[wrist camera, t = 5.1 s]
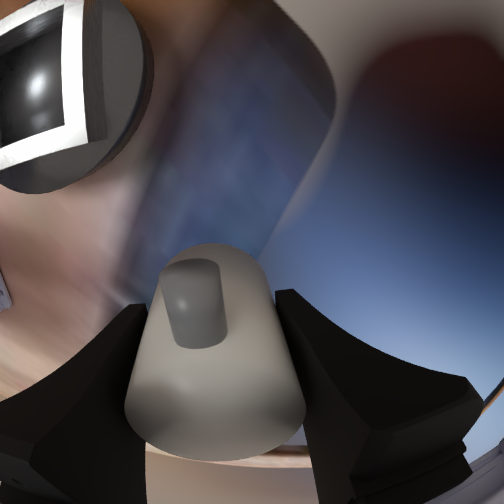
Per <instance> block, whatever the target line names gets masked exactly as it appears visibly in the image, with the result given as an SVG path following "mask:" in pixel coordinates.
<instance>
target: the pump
mask: <svg viewBox="0 0 504 504" xmlns="http://www.w3.org/2000/svg"><path fill="white" fill-rule="evenodd" d="M124 410H125V415H126V418H127V420H128V422H129V424H130V426H131V427H132V429H133V430H134V431H135V432H136V433H137V434H138V435H139V436H140V437H141V438H142V439H144V440H145V441H146V442H148V443H149V444H151V445H153V446H154V447H156V448H158V449H160V450H162V451H165V452H167V453H170V454H173V455H176V456H179V457H183V458H188V459H193V460H201V461H232V460H239V459H245V458H249V457H253V456H257V455H260V454H263V453H265V452H268V451H270V450H272V449H274V448H276V447H278V446H280V445H281V444H283V443H284V442H286V441H287V440H288V439H289V438H291V437H292V436H293V435H294V434H295V433H296V432H297V431H298V429H299V428H300V427H301V425H302V423H303V421H304V419H305V414H306V404H305V400H304V397H303V394H302V390H301V387H300V384H299V381H298V377H297V374H296V371H295V368H294V364H293V361H292V358H291V355H290V351H289V348H288V345H287V342H286V338H285V335H284V332H283V329H282V326H281V322H280V319H279V316H278V313H277V309H276V306H275V303H274V300H273V297H272V294H271V290H270V287H269V284H268V281H267V277H266V275H265V273H264V271H263V269H262V268H261V266H260V265H259V264H258V262H257V261H256V260H255V259H254V258H252V257H251V256H250V255H249V254H247V253H246V252H244V251H242V250H240V249H238V248H236V247H233V246H230V245H225V244H218V243H207V244H200V245H196V246H193V247H190V248H188V249H185V250H183V251H182V252H180V253H178V254H177V255H176V256H175V257H173V258H172V259H171V260H170V261H169V262H168V264H167V265H166V266H165V268H164V269H163V270H162V271H161V272H160V274H159V282H158V285H157V288H156V291H155V294H154V298H153V301H152V304H151V307H150V311H149V314H148V317H147V320H146V324H145V327H144V331H143V334H142V338H141V341H140V345H139V348H138V352H137V356H136V359H135V363H134V367H133V371H132V374H131V378H130V382H129V386H128V390H127V395H126V399H125V404H124Z"/></svg>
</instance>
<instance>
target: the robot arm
mask: <svg viewBox="0 0 504 504" xmlns="http://www.w3.org/2000/svg"><path fill="white" fill-rule="evenodd" d="M2 291H3V292H2ZM275 300H276V303H275V304H276V309H277V313H278V316H279V319H280V322H281V326H282V329H283V332H284V335H285V338H286V342H287V345H288V348H289V351H290V355H291V358H292V361H293V364H294V368H295V371H296V374H297V377H298V381H299V384H300V387H301V390H302V394H303V397H304V400H305V404H306V414H305V419H304V421H303V427H304V431H305V436H306V440H307V444H308V449H309V454H310V458H311V463H312V468H313V473H314V478H315V483H316V488H317V494H318V499H319V504H504V438H503V439H502V440H501V441H500V443H499V445H498V446H496V447H495V448H493V449H492V450H490V451H489V452H487V453H486V454H484V455H483V456H481V457H480V458H479V459H477V460H475V461H473V462H472V463H470V464H468V462H467V461H466V459H465V457H464V455H463V453H464V452H465V451H466V446H465V444H464V442H463V441H462V439H463V438H464V437H465V435H466V434H467V433H468V432H469V430H470V429H471V428H472V426H473V425H474V424H475V422H476V421H477V419H478V418H479V416H480V415H481V412H482V410H483V406H484V402H483V399H482V398H481V396H480V395H479V394H478V392H477V391H476V390H475V389H474V387H473V386H472V385H471V383H470V382H469V381H468V380H467V378H466V377H462V376H458V375H452V374H447V373H443V372H438V371H434V370H430V369H427V368H424V367H421V366H417V365H414V364H411V363H408V362H405V361H403V360H400V359H398V358H396V357H393V356H391V355H389V354H386V353H384V352H382V351H380V350H378V349H376V348H373V347H372V346H370V345H368V344H366V343H364V342H363V341H361V340H359V339H357V338H356V337H354V336H352V335H351V334H349V333H348V332H346V331H345V330H343V329H342V328H340V327H339V326H337V325H336V324H335V323H333V322H332V321H331V320H329V319H328V318H327V317H325V316H324V315H323V314H322V313H320V312H319V311H318V310H317V309H315V308H314V307H313V306H312V305H311V304H310V303H309V302H307V301H306V300H305V299H304V298H303V297H302V296H301V295H300V294H298V293H297V292H296V291H295V290H294V289H286V290H278V291H275ZM11 306H12V301H11V298H10V296H9V293H8V291H7V289H6V286H5V283H4V281H3V278H2V276H1V273H0V312H1V311H2V310H3V309H4V308H10V307H11ZM147 317H148V311H147V308H146V304H145V303H143V304H129V305H128V306H127V307H126V308H124V309H123V310H122V311H121V312H120V313H119V314H118V315H117V316H116V317H115V318H114V319H113V320H112V321H111V322H110V323H109V324H108V325H107V326H106V327H105V328H104V329H103V330H102V331H101V332H100V333H99V334H98V335H97V336H96V337H95V338H94V339H92V340H91V341H90V342H89V343H88V344H87V345H86V346H85V347H84V348H83V349H81V350H80V351H79V352H78V353H77V354H76V355H75V356H74V357H72V358H71V359H70V360H69V361H67V362H66V363H65V364H63V365H62V366H61V367H59V368H58V369H57V370H56V371H54V372H53V373H51V374H50V375H48V376H47V377H45V378H43V379H42V380H40V381H39V382H37V383H36V384H34V385H32V386H31V387H29V388H27V389H25V390H23V391H22V392H20V393H18V394H16V395H14V396H12V397H10V398H8V399H5V400H3V401H1V402H0V481H1V485H0V504H147V497H146V482H145V481H146V480H145V446H146V441H145V440H144V439H142V438H141V437H140V436H139V435H138V434H137V433H136V432H135V431H134V430H133V429H132V427H131V426H130V424H129V422H128V420H127V418H126V415H125V410H124V404H125V399H126V395H127V390H128V386H129V382H130V378H131V374H132V371H133V367H134V363H135V359H136V356H137V352H138V348H139V345H140V341H141V338H142V334H143V331H144V327H145V324H146V320H147Z"/></svg>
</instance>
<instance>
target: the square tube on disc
mask: <svg viewBox="0 0 504 504" xmlns="http://www.w3.org/2000/svg"><path fill="white" fill-rule="evenodd" d="M153 79H154V61H153V53H152V49H151V45H150V42H149V39H148V37H147V35H146V33H145V31H144V29H143V28H142V27H141V25H140V24H139V22H138V21H137V20H136V19H135V17H134V16H133V15H132V14H131V13H130V11H129V10H128V9H127V8H126V7H125V6H124V5H123V4H122V3H121V2H120V1H119V0H32V1H30V2H29V3H27V4H26V5H25V6H23V7H22V8H20V9H19V10H18V11H16V12H14V13H12V14H11V15H9V16H7V17H6V18H4V19H2V20H1V21H0V184H2V185H3V186H5V187H7V188H9V189H11V190H14V191H17V192H20V193H26V194H42V193H48V192H52V191H55V190H58V189H61V188H63V187H65V186H67V185H69V184H71V183H73V182H75V181H77V180H79V179H81V178H84V177H86V176H88V175H90V174H92V173H94V172H96V171H97V170H99V169H100V168H102V167H104V166H105V165H106V164H107V163H109V162H110V161H111V160H112V159H113V158H114V157H115V156H116V155H117V154H118V153H119V152H120V151H121V150H122V149H123V148H124V147H125V145H126V144H127V143H128V142H129V140H130V139H131V138H132V136H133V134H134V133H135V131H136V130H137V128H138V126H139V124H140V122H141V120H142V118H143V116H144V114H145V111H146V109H147V106H148V103H149V100H150V96H151V92H152V86H153Z"/></svg>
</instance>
